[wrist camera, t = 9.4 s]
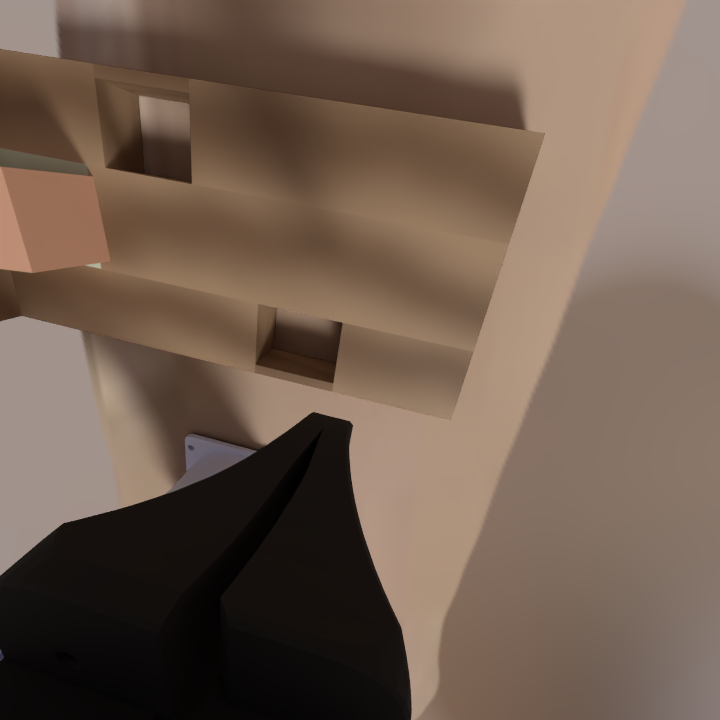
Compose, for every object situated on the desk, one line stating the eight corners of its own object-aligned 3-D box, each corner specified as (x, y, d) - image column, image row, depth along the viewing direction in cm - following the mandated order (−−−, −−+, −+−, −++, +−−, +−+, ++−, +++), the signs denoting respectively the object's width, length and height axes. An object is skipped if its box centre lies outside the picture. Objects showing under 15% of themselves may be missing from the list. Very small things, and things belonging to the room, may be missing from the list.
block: (110, 261, 19) (32, 273, 15) (46, 253, 19) (-45, 263, 15) (93, 176, 17) (1, 166, 13) (23, 171, 18) (-83, 160, 14)
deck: (448, 397, 21) (453, 456, 16) (51, 303, 23) (-52, 327, 18) (528, 145, 15) (575, 112, 10) (1, 61, 18) (-163, 3, 13)
